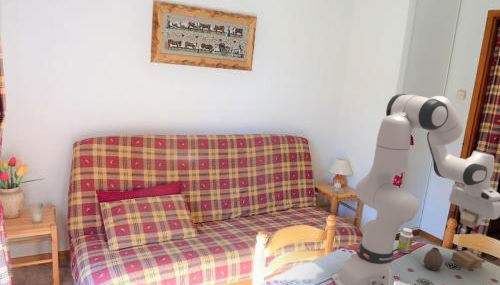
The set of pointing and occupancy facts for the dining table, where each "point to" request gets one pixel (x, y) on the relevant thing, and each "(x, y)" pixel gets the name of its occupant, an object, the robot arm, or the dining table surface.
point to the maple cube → (469, 218)
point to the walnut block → (467, 259)
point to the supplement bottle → (405, 240)
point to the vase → (433, 259)
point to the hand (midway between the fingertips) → (470, 220)
